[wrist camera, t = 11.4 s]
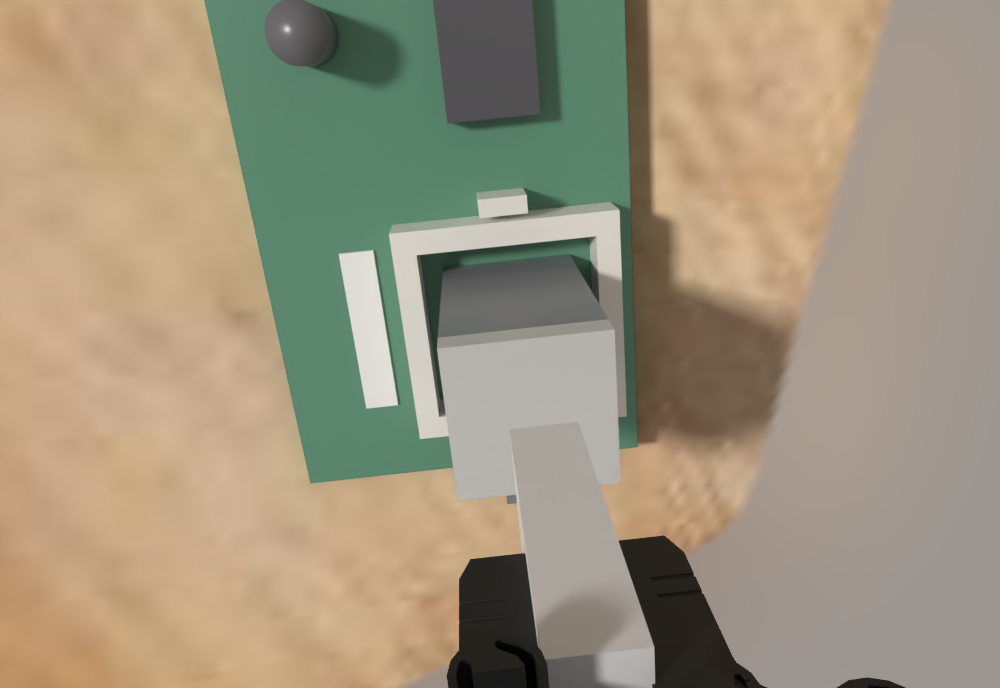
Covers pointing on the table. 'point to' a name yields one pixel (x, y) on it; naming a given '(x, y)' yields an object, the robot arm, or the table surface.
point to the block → (523, 367)
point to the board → (420, 191)
